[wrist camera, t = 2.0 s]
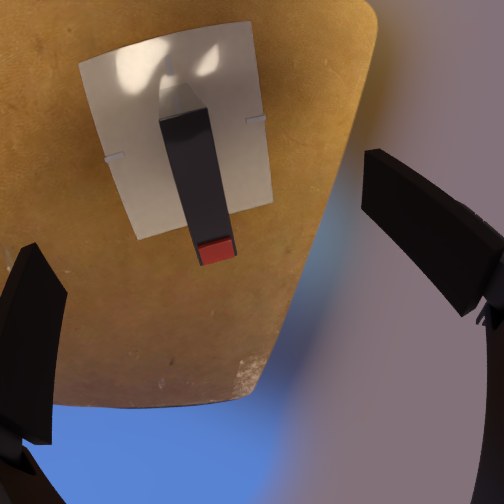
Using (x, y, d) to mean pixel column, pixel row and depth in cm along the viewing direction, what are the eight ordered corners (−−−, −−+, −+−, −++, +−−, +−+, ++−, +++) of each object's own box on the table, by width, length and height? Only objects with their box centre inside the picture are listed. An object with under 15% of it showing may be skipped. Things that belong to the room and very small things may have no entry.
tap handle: (159, 89, 16) (158, 121, 9) (187, 82, 17) (208, 108, 10) (183, 184, 21) (201, 269, 14) (207, 177, 21) (238, 258, 14)
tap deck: (86, 62, 16) (75, 64, 13) (240, 23, 17) (252, 20, 15) (137, 220, 25) (136, 241, 23) (263, 186, 26) (275, 203, 24)
